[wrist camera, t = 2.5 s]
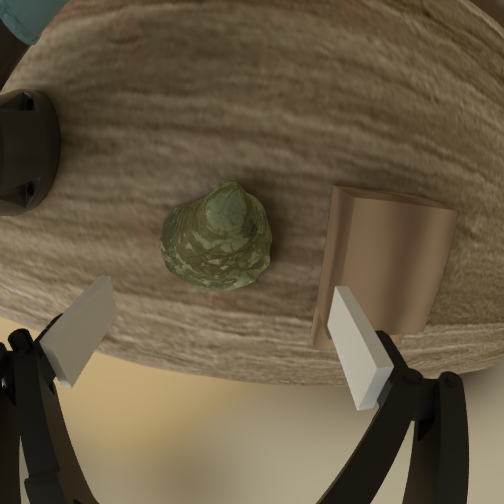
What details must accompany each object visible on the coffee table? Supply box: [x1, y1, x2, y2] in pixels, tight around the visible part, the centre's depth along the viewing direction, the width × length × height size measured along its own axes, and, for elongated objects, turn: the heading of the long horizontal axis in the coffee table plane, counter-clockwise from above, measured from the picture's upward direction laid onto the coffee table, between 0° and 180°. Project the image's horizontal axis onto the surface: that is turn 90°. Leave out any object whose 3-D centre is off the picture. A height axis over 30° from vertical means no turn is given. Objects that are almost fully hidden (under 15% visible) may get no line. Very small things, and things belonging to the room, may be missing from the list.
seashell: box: [159, 179, 272, 291], centre depth 25 cm, size 10×7×10 cm
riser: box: [311, 185, 459, 350], centre depth 25 cm, size 11×17×6 cm, turn 178°
